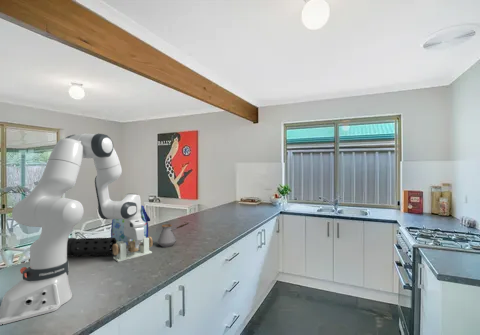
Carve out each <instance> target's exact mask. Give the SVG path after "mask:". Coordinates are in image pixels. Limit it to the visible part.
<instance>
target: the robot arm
mask: <svg viewBox="0 0 480 335" xmlns="http://www.w3.org/2000/svg"><path fill="white" fill-rule="evenodd" d="M83 159H93V162H94V165H95V170H96V176H95V178H94V187H95V193H96V197H97V208H98V209H97V211H98V215H99V217H100V218H101V219H103V220H112V219H125V224H124V235H125V236H127V240H128V242H130V241H131V239H133V240H135V245H134V246H135V248H138V249H139V248H140V246H139V243H140V241H142V240H143V239H144V227H143V226H145V223H144V221H143V220H142V218H141V212H140V211H141V205H142V201H141V200H142V199H141V196H140V194H138V193H126V194H125V195H124V198H123V199H122V200H112V199H111V197H110V192H109V191H110V190H109V185H110V184H112V183H114V182H116V181H117V180H119V178H120V177H121V176H122V173H123V168H122V165H121V162H120V158H119V156H118V153H117V152H116V149H115V147H114V141H113V140H112V139H111V137H110V136H109V135H108V134H105V133H104V134H103V133H79V134H72V135H68V136H67V137H65V138H61V139H59V140H58V141H57V142H56V144H55V145H54V147H53V148H52V151H51V153H50V154H49V157H48V160H47V162H46V164H45V167H44V170H43V173H42V175H41V178H40V179H39V181H38V183H37V184H36V185H35V187H34V188H33V189H32V190H31V192H30V193H29V194H28V195H26V197H24V198H23V199H21V200H19V201H18V202H17V203H16V204H15V205H14V207H13V208H12V210H11V216H12V219H13V220H14V222H15V223H17V224H19V225H22V226H26V227H30V228H31V227H32V228H33V227H35V228H41V231H40V236H39V237H38V239H36V240H35V241H34V242H32V243H31V245H30V248H29V267H26V266H23V267H21V268H20V270H19V272H20V274H22V279H21V280H20V281H18V282H17V284H15V285H13V287H11V288H10V289H9V290H7V291H6V292H5V294H4V295H3V298H2V300H1V304H0V326H3V325H7V324H10V323H14V322H17V321H21V320H26V319H30V318H33V317H36V316H40V315H41V316H42V315H43V314H48V313H52V312H55V311H57V310H58V309H59V308H60V307H61V306H63V305H64V304H66V303H68V302H69V301H70V300H71V299H72V298H73V293H72V290H71V286H70V281H69V271H70V266H69V265H70V264H69V260H68V256H67V242H68V238H70V237H69V236H70V234H71V232H72V230H73V229H74V228H75V226H77V225H78V224H79V223H80V222H81V221H82V219H83V217H84V213H85V211H84V210H85V209H84V206H83V204H82V202H80V201H79V200H75V199H73V198H72V199H71V198H68V197H62V196H64V194H65V193H66V192H68V191H70V190H71V189H72V188H74V187H75V185H76V182H77V179H78V177H79V174H80V170H81V167H82V162H83ZM2 324H3V325H2Z"/></svg>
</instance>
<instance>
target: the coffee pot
mask: <svg viewBox="0 0 480 335" xmlns="http://www.w3.org/2000/svg"><path fill="white" fill-rule="evenodd" d="M187 225H188V227H190V223H189V222H187V223H184V224H180V225H179V226H176V227H173V228H172V226H173V224H171V223H169V224H168V223H166V224H162V225H161V228H162V230H161V233H160V234H159V236H158V237H159V238H158V239H157V244H158V245H159V246H160V247H163V248H166V247H167V248H169V247H172V246H173V245H175V243H176V242H177V238H176V236H175V234H174V232H173V231H175V230H177V229H180V228H182V227H184V226H187Z"/></svg>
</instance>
